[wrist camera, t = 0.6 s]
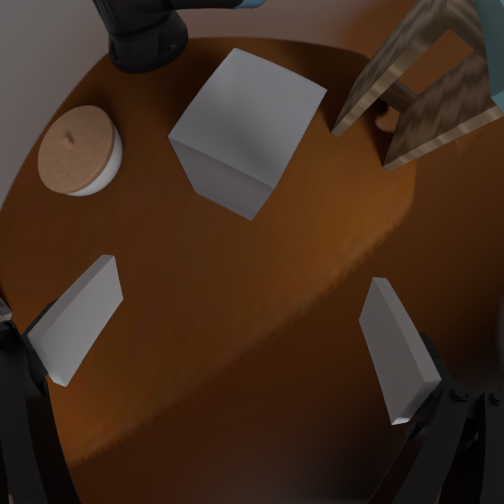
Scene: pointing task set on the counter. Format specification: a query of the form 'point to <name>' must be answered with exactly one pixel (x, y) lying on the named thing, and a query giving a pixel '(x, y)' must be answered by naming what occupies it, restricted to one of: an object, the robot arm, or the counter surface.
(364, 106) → the wooden stool frame
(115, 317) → the counter surface
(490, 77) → the teal block
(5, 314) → the coffee box
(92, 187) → the lidded bowl
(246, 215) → the stone block
